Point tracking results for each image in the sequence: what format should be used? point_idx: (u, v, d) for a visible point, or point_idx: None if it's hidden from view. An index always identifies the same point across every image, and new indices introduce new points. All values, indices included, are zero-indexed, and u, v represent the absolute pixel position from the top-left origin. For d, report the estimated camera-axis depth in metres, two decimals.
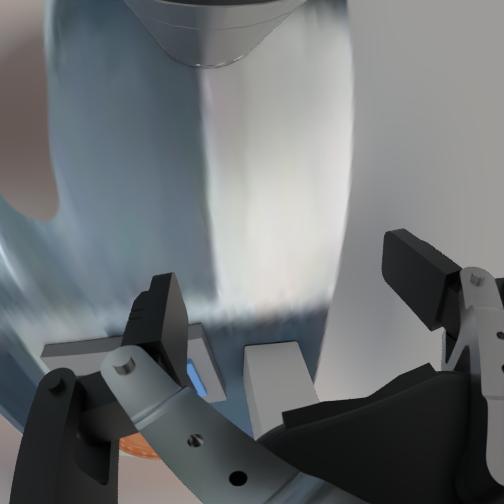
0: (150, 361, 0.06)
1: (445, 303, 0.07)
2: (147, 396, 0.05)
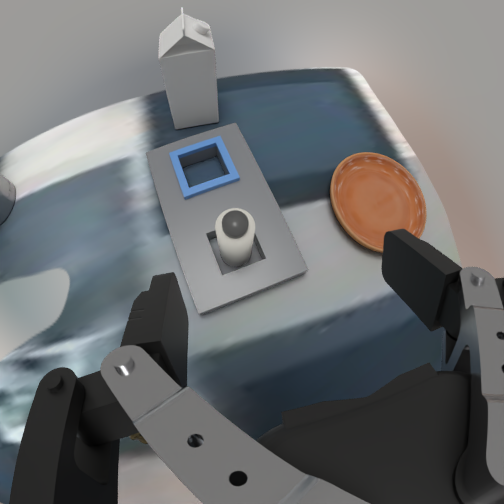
0: (150, 361, 0.06)
1: (445, 303, 0.07)
2: (147, 396, 0.05)
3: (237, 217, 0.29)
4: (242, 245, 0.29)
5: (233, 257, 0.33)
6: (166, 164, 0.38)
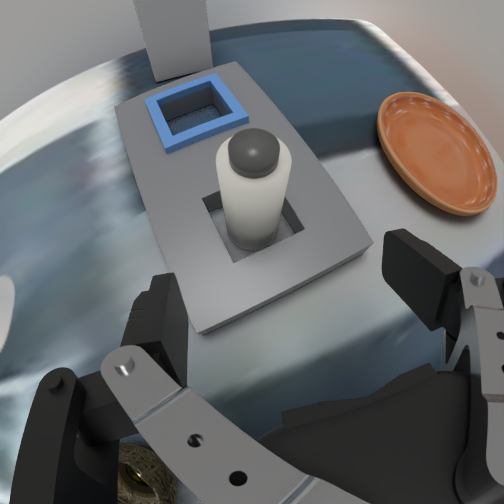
0: (150, 361, 0.06)
1: (445, 303, 0.07)
2: (147, 396, 0.05)
3: (257, 138, 0.14)
4: (271, 191, 0.15)
5: (251, 227, 0.19)
6: (141, 114, 0.25)
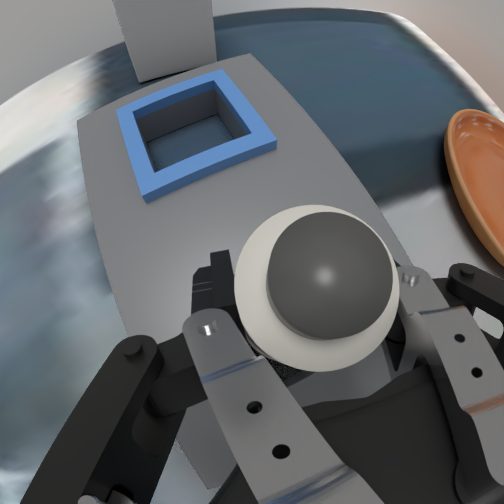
0: (233, 327, 0.07)
1: None
2: (221, 358, 0.06)
3: (340, 245, 0.06)
4: None
5: None
6: (111, 133, 0.16)
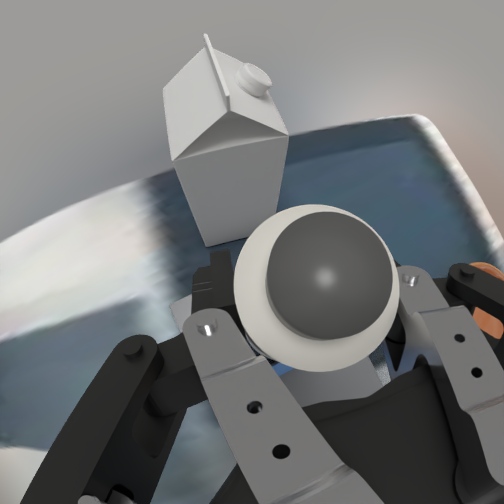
0: (233, 327, 0.07)
1: None
2: (221, 358, 0.06)
3: (339, 245, 0.06)
4: (357, 357, 0.06)
5: None
6: None
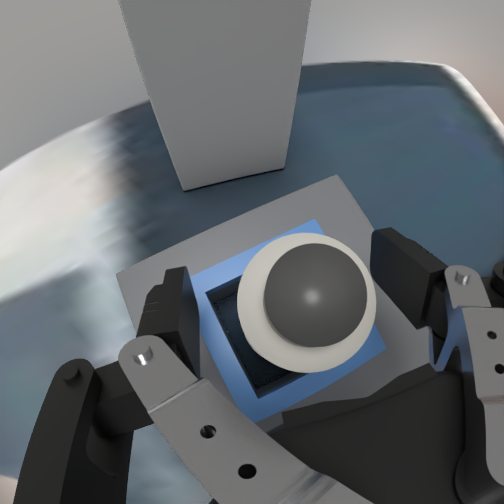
0: (168, 351, 0.06)
1: (430, 301, 0.08)
2: (162, 386, 0.05)
3: (323, 271, 0.07)
4: None
5: None
6: None
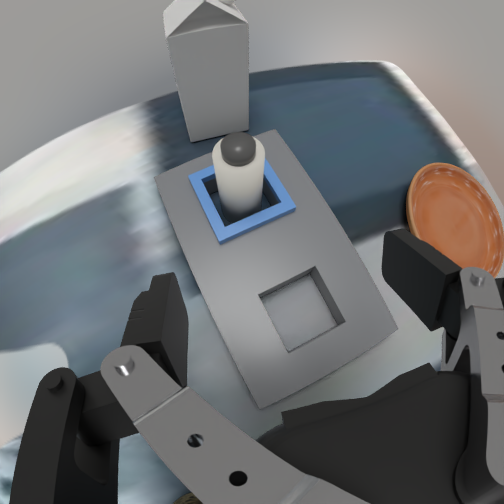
0: (150, 361, 0.06)
1: (445, 303, 0.07)
2: (147, 396, 0.05)
3: (240, 139, 0.21)
4: (250, 175, 0.21)
5: (239, 203, 0.25)
6: (186, 192, 0.28)
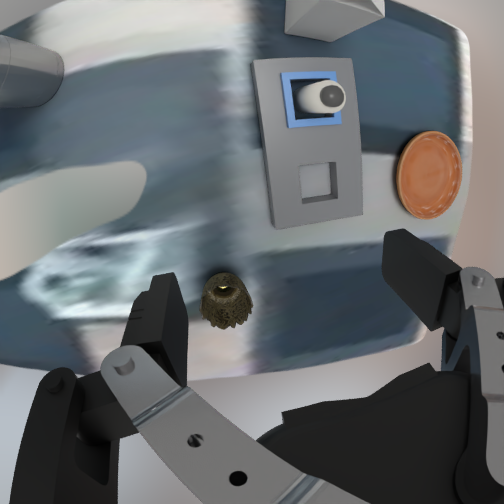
0: (150, 361, 0.06)
1: (445, 303, 0.07)
2: (147, 396, 0.05)
3: (336, 92, 0.28)
4: (330, 112, 0.30)
5: (311, 111, 0.34)
6: (275, 82, 0.33)
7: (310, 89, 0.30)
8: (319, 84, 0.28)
